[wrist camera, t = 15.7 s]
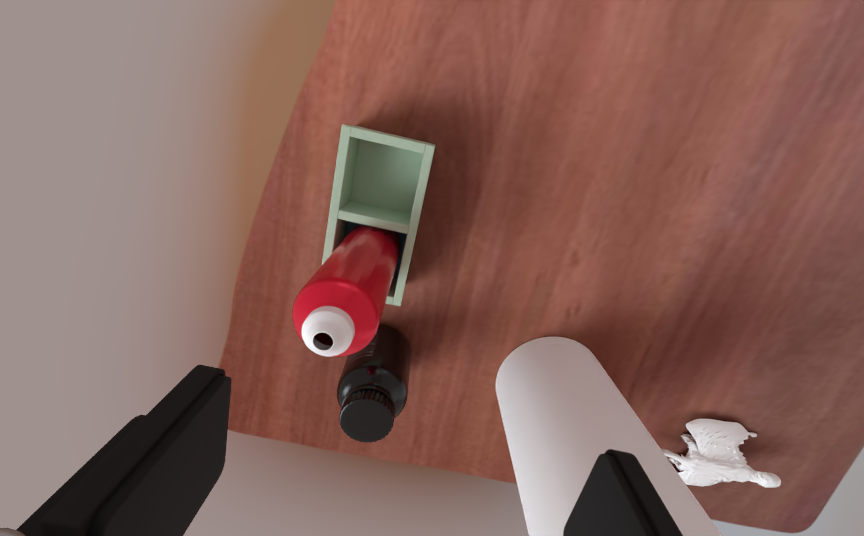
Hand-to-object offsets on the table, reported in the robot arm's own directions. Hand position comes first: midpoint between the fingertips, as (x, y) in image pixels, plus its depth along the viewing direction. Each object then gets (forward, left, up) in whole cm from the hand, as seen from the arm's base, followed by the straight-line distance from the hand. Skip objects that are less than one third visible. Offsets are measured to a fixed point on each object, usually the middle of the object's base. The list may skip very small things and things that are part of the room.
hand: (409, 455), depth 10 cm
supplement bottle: (+17, -2, -33) cm, 37 cm away
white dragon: (+22, +39, -33) cm, 56 cm away
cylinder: (+17, +18, -33) cm, 41 cm away
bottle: (+5, -5, -32) cm, 33 cm away
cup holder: (+1, -5, -33) cm, 33 cm away
